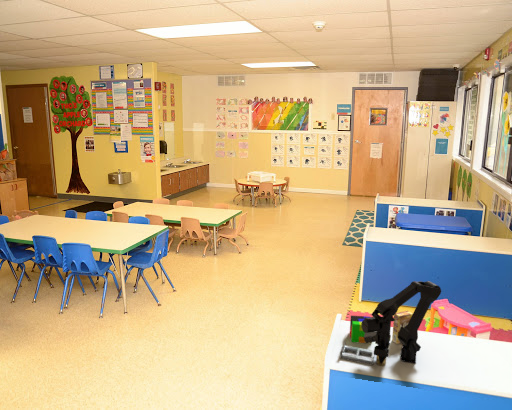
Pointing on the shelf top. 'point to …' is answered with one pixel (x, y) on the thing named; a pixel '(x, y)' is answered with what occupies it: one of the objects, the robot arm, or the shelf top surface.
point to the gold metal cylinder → (380, 363)
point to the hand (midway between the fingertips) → (381, 360)
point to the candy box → (400, 323)
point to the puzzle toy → (357, 329)
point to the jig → (357, 357)
